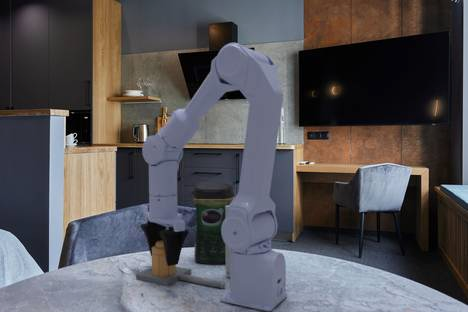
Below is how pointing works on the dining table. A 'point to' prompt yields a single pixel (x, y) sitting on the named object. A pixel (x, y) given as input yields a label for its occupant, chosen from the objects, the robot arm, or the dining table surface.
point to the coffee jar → (211, 220)
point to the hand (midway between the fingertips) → (164, 260)
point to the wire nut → (161, 261)
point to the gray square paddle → (177, 278)
